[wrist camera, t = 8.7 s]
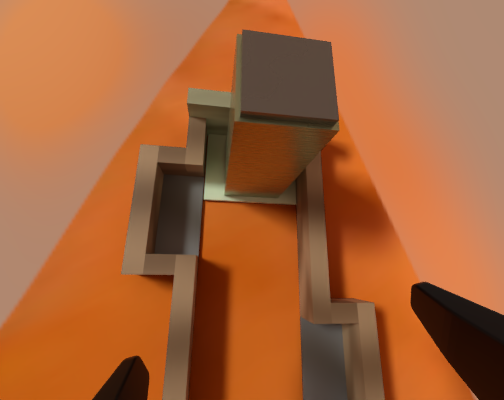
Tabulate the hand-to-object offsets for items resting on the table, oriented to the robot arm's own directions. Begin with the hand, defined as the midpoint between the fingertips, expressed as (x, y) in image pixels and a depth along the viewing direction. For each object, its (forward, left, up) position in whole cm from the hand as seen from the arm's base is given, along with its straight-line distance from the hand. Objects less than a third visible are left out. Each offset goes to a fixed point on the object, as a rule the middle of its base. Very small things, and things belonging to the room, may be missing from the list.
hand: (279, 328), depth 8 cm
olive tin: (+9, 0, -10) cm, 13 cm away
